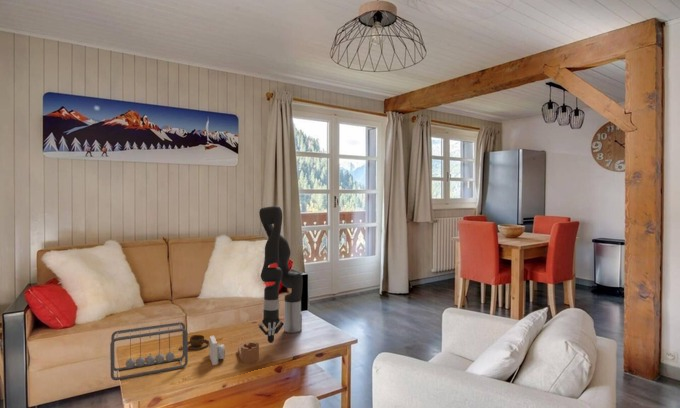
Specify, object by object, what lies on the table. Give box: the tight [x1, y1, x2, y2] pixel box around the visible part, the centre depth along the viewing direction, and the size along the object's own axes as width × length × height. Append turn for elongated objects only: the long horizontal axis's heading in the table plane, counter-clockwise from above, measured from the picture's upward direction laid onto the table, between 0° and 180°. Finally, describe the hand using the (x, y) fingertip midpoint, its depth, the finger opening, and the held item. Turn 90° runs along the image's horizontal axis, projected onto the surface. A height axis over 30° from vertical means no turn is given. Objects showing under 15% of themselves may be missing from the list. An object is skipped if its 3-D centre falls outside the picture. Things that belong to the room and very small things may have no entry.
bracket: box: [237, 341, 260, 364], centre depth 191 cm, size 18×8×7 cm, turn 22°
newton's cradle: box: [109, 321, 189, 381], centre depth 175 cm, size 30×10×18 cm, turn 118°
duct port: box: [209, 335, 226, 366], centre depth 186 cm, size 6×10×10 cm, turn 26°
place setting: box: [178, 334, 210, 351], centre depth 198 cm, size 18×20×6 cm
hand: (270, 342), depth 197 cm, fingers closed
